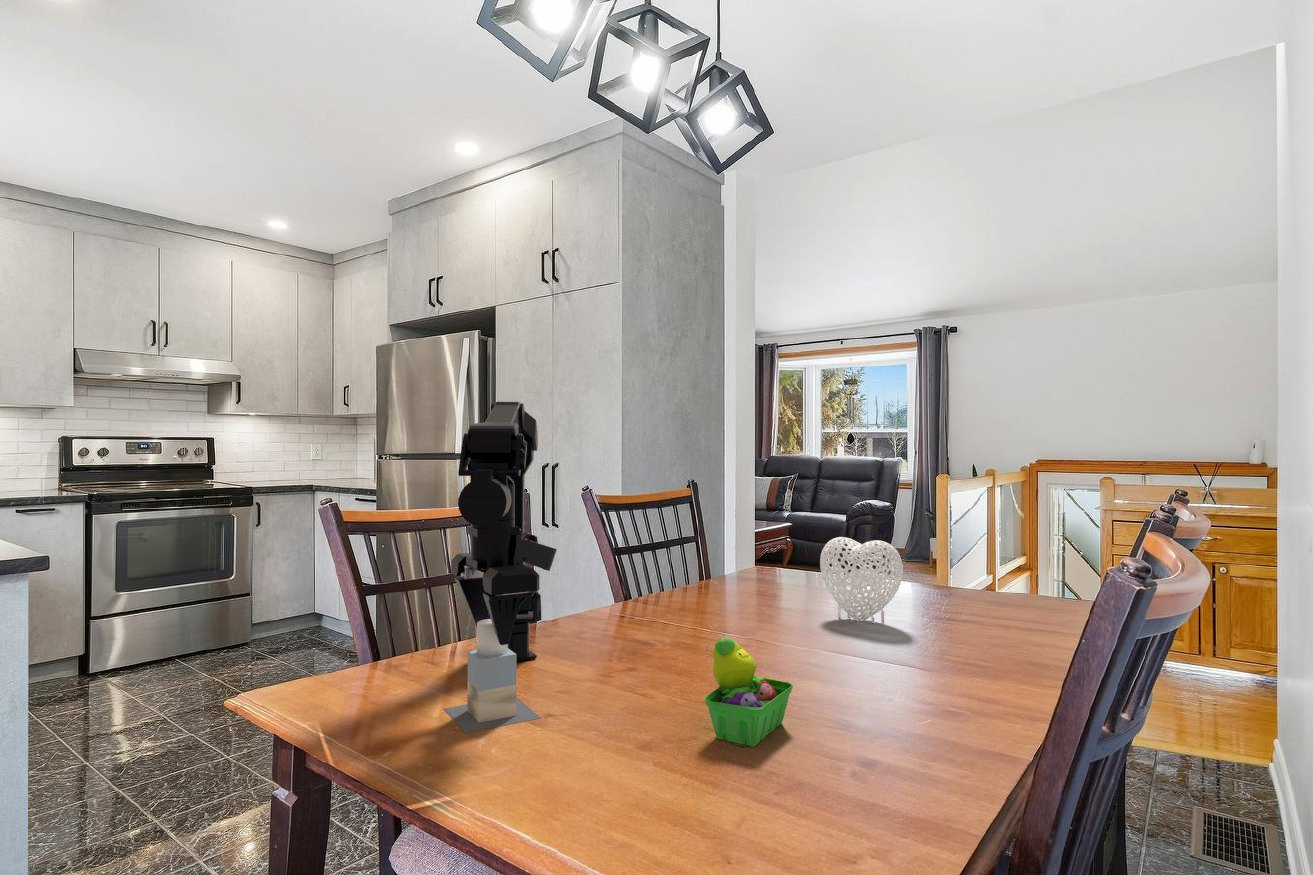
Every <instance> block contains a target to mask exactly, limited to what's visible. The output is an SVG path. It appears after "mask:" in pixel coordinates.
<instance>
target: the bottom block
mask: <svg viewBox="0 0 1313 875" xmlns="http://www.w3.org/2000/svg"><path fill="white" fill-rule="evenodd" d="M466 695H467V699H466V700H467V703H466V704H467V711H468V712H469V713H470V714H471V715H472V716H473V717H474V718H475V719H476V720H477V721H478V722H479V723H480V722H485V721H490V720H496V719H501V718H506V717H511V716H516V697H517V684H516V685H512V686H506V687H501V688H495V689H489V690H483V691H478V690H477V689H476V688H475V687H474V686H473V685H472V684H471V683H470V682H468V681H467V694H466Z"/></svg>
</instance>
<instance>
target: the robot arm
mask: <svg viewBox="0 0 1313 875" xmlns="http://www.w3.org/2000/svg"><path fill="white" fill-rule="evenodd" d="M538 434H539V433H538V425H537V420H536V419H535V418H534V417H533V416H532V415H530V414H529V413H528V412H527V411H525V404H524V402H523V403H521V402H520V401H495V402H492V403H491V404H490V412H489V415H488V416H487V417H486V418H485V422H475V423H472V424H471V425H470V426H468V428H467V433H465V432H464V433H463V436H462V441H461V443H462V444H461V449H460V450H461V451H460V458H459V466H458V470H457V471H458V472H457V473H458V474H457V476H458V477H470V482H468V483H467V484H466V485H465V486H464V487H463V488H462V490H461V491H460V494H459V496H458V498H457V499H458V501H457V506H458V510H459V513H460V515H461V517H462V518H463V519H464V520H465V521H466V522H468V523H469V524H470V525H466V529H465V530H466V531H465V532H466V534H467V535H470V552H464V553H462V552H461V553H457V554H456V555H455V556H454V557H453V558H452V559H451V561H450V563H451V565H450V566H451V568H450V570H451V571H450V574H451V575H453V576H455V577H454V578H453V579H454V581H455V582H456V584H457V587H458V589H459V590H460V593H461V595H462V597H463V600H464V602H465V604H466V606H467V609H468V610H469V613H470V616H471V618H472V620H473V623H474V625H475V627H476V628H477V622H478V621H481V620H486V619H491V621H492V624H493V627H494V630H495V633H496V636H497V639H498V642H499V644H500V645H506V644H508V649H510V650H511V651H513V652H514V653H515V654H517V662H520V661H526V660H532V659H533V660H534V659H537V657H538V656H537V654H536V653H534V652H533V651H531V650H530V636H531V634H530V632H531V631H530V630H531V628H530V625H531V624H537V622H539V621H542V595H541V594H540V593H539V591H540V573H538V572H537V571H536V570H535V569H534V568H533V567H537V568H540V569H541V570H545V571H548V572H550V571H551V569H552V565H553V562H554V559H555V555H556V553H557V551H558V549H557V548H554V547H551V546H548V545H545V544H542V543H539V542H538V536H537V535H534V534H531V533H528V532H525V478H526V477H525V475H526V474H527V472H528V470H529V468H530V467H531V465H532V463H533V461H534V459H535V457H534V456H535V452H537V451H538V445H539V444H538V442H539V441H538V440H539V435H538ZM528 564H529V565H530V566H533V567H530V566H528ZM531 612H532V613H531ZM530 623H531V624H530Z"/></svg>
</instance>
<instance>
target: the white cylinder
mask: <svg viewBox="0 0 1313 875" xmlns="http://www.w3.org/2000/svg"><path fill="white" fill-rule="evenodd" d="M476 649H477V654H478V655H480V656H486V657H492V656H500V655H504V654H506V653H507V652H508V644H506V645H500V644H499V642H498V639H497V636H496V633H495V630H494V627H493V624H492V621H491V619H486V620H481V621H478V622H477V627H476Z"/></svg>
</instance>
